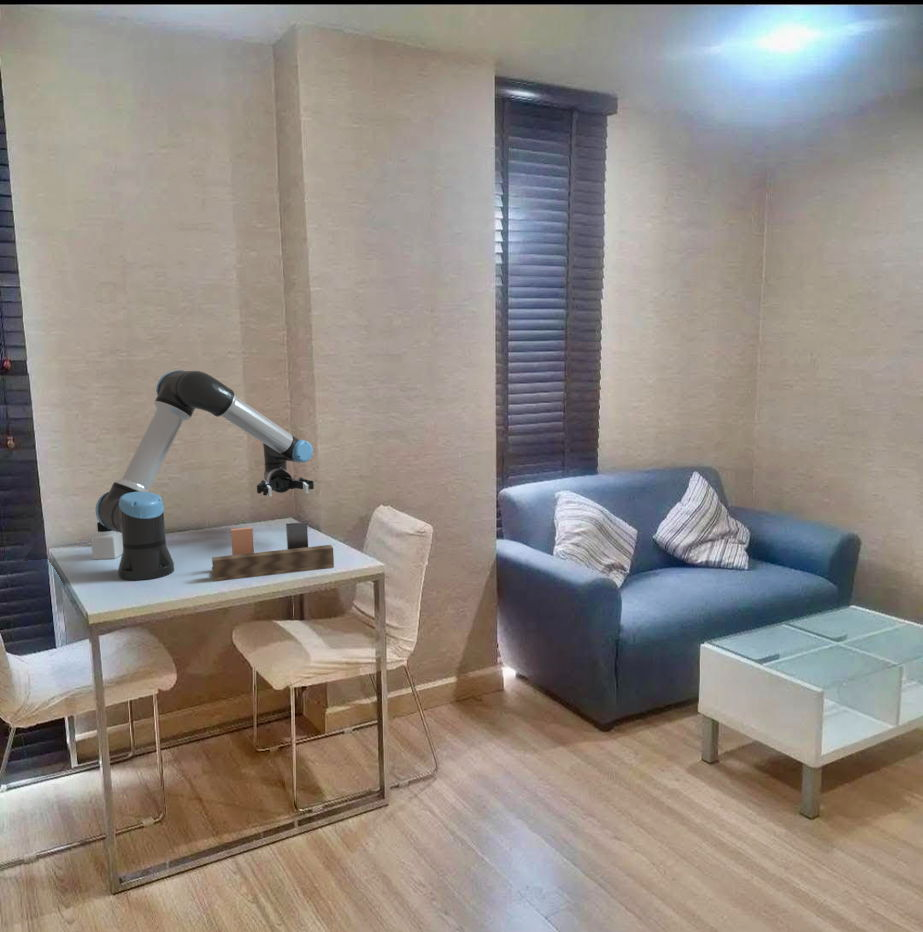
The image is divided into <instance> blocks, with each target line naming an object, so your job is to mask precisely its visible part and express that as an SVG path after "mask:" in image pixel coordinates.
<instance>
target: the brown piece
mask: <svg viewBox="0 0 923 932" xmlns="http://www.w3.org/2000/svg"><path fill="white" fill-rule="evenodd" d="M334 558H335V557H334V547H333V546H332V545H331V544H325V545H315V546H308V547H305V548H295V549H278V550H269V551H259V552H254V553H248V554H239V555H233V554H231V555H221V556H212V557H211V561H212V567H211V573H212V577H213V582H220V581H221V582H222V581H228V580H238V579H247V578H255V577H257V578H258V577H264V576H272V575H274V576H275V575H280V574H288V573H289V574H290V573H298V572H306V571H308V572H309V571H315V570H316V571H317V570H322V569H323V570H324V569H333V568H335V561H334Z"/></svg>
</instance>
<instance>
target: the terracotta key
mask: <svg viewBox="0 0 923 932" xmlns="http://www.w3.org/2000/svg"><path fill="white" fill-rule="evenodd" d="M253 529H254V528H253V527H252V526H250V527H249V526H248V527H239V528H238V527H237V528H230V536H231V537H230V538H231V550H232V551H231V553H232V554H231V555H239V554H248V553H255V547H254V534H253V532H254V530H253Z"/></svg>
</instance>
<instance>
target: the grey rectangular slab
mask: <svg viewBox="0 0 923 932" xmlns="http://www.w3.org/2000/svg"><path fill="white" fill-rule="evenodd" d="M285 529H286V548H287V549H295V548H305V547H309V539H308V538H309V535H308V522H307V521H302V522H292V523H286V524H285Z"/></svg>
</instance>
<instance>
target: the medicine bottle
mask: <svg viewBox="0 0 923 932" xmlns="http://www.w3.org/2000/svg"><path fill="white" fill-rule="evenodd" d="M95 533H96V534H95V535H94V536H92V537H91V539H90V541H91V551H92V554H91V555H92V559H93V560H115V559H117V558H119V557H120V556H122V553H123V540H122V533H120V532H117V531H112V530H109V529H108V528H106V527H105V526H103V525H102V524H101V523H100V522H99V520H98V519H97V520H96V521H95Z"/></svg>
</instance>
